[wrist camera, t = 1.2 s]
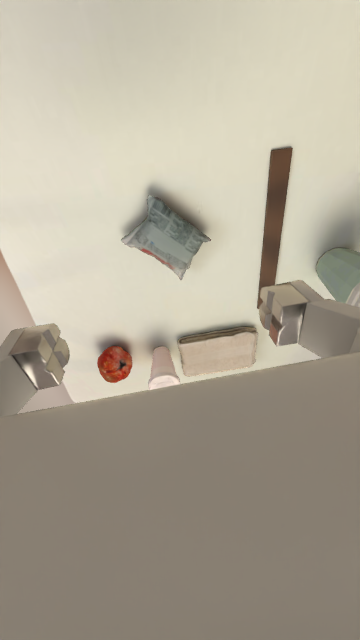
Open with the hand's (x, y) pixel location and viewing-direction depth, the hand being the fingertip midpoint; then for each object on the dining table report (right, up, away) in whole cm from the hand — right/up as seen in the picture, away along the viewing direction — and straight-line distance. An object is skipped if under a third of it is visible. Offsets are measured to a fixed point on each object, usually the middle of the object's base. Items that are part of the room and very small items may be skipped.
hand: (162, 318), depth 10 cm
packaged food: (-2, +14, +32) cm, 35 cm away
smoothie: (-4, -7, +47) cm, 48 cm away
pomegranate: (-14, -8, +46) cm, 48 cm away
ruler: (+17, +14, +35) cm, 41 cm away
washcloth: (+9, -7, +49) cm, 50 cm away
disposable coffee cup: (+30, +11, +39) cm, 50 cm away
